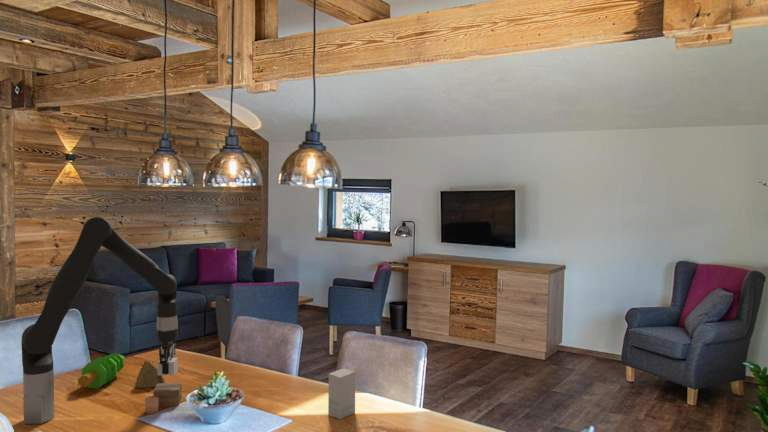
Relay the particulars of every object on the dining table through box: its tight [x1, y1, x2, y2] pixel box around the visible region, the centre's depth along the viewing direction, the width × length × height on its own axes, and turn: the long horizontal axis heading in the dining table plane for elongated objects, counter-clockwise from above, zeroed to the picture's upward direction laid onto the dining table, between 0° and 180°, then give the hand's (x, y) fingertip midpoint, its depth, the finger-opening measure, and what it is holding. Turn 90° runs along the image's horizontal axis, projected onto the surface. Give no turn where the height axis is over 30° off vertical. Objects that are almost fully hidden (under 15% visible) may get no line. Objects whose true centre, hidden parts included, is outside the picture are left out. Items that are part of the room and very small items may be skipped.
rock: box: [134, 360, 166, 389], centre depth 245 cm, size 11×9×10 cm
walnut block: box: [153, 381, 183, 407], centre depth 229 cm, size 9×9×6 cm
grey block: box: [156, 356, 179, 376], centre depth 228 cm, size 6×6×5 cm
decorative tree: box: [77, 353, 125, 389], centre depth 251 cm, size 11×12×30 cm
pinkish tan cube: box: [144, 395, 160, 415], centre depth 219 cm, size 5×5×5 cm
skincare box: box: [327, 367, 356, 420], centre depth 218 cm, size 8×7×16 cm
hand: (167, 370), depth 228 cm, fingers closed on grey block, 6 cm apart
